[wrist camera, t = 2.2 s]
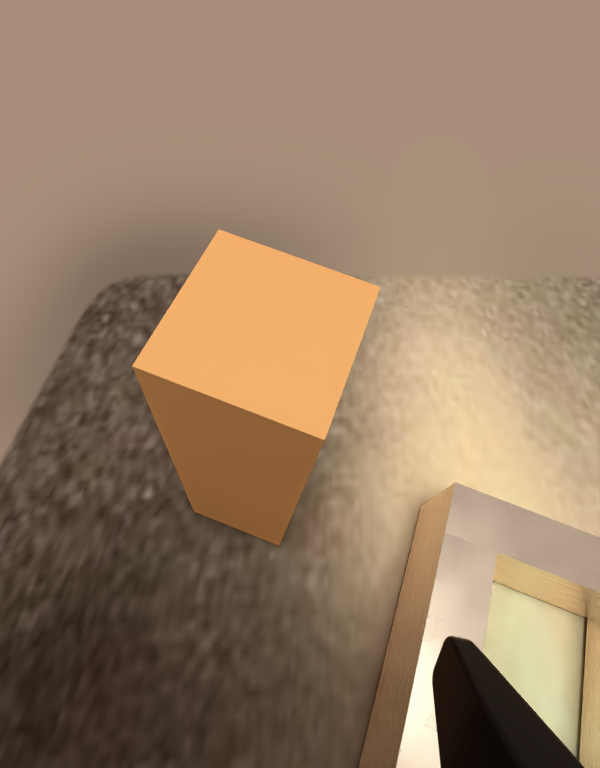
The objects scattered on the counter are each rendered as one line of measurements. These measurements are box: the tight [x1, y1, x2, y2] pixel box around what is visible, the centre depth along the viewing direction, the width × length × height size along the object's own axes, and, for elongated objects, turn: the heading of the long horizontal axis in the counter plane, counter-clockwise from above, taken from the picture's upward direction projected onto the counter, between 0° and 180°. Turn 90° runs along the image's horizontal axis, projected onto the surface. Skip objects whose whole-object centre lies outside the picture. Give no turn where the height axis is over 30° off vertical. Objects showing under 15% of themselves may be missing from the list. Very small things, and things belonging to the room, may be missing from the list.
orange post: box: [132, 230, 380, 546], centre depth 16 cm, size 4×4×13 cm
